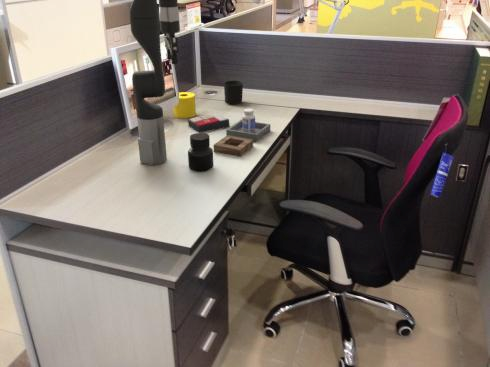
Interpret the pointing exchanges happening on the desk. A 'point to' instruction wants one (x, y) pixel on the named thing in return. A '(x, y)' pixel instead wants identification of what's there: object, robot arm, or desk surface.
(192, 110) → the yellow piece
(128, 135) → the desk surface
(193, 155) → the ink bottle
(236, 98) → the pen holder
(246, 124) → the pill bottle
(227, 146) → the tray
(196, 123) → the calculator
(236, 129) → the tray
